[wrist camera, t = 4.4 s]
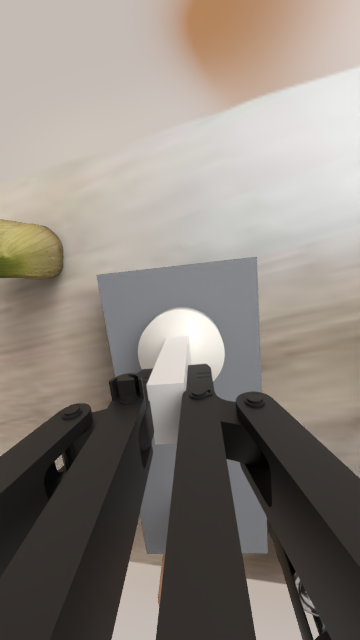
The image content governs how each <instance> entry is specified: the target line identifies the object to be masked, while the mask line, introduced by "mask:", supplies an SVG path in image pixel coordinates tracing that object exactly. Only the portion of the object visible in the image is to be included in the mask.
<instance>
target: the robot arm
mask: <svg viewBox="0 0 360 640" xmlns="http://www.w3.org/2000/svg"><path fill="white" fill-rule="evenodd" d="M109 385H110V390H111V396H112V402H111V403H110V405H109V406H108V408H107V409H105V410H101V411H97V412H93V413H92V411H91V407H90V406H89V405H88V404H75V405H74V404H73V405H70V406H69V407H66V408H64V409H63V410H61V411H59V412H58V413H57V414H55V415H54V416H53V417H51V418H50V419H49V420H48V421H46V422H45V423H44V424H42V425H41V426H40V427H38V428H37V429H36V430H34V431H33V432H32V433H31V434H29V435H28V436H27V437H25V438H24V439H23V440H21V441H20V442H19V443H17V444H16V445H15V446H14V447H12V448H11V449H10V450H8V451H7V452H6V453H4V454H3V455H2V456H0V640H111V638H112V634H113V630H114V625H115V620H116V616H117V612H118V607H119V603H120V598H121V594H122V589H123V585H124V581H125V576H126V572H127V567H128V563H129V559H130V554H131V550H132V545H133V541H134V536H135V532H136V527H137V523H138V519H139V514H140V510H141V505H142V501H143V496H144V492H145V488H146V483H147V479H148V474H149V470H150V465H151V461H152V456H153V447H152V439H153V435H154V439H155V445H158V444H177V449H176V458H175V467H174V476H173V486H172V495H171V504H170V514H169V523H168V532H167V541H166V551H165V560H164V569H163V579H162V588H161V597H160V606H159V616H158V625H157V634H156V640H256V636H255V631H254V624H253V618H252V612H251V606H250V600H249V594H248V587H247V581H246V575H245V569H244V563H243V557H242V551H241V545H240V538H239V532H238V526H237V520H236V514H235V508H234V502H233V496H232V489H231V483H230V477H229V471H228V465H227V459H228V460H233V461H237V462H240V466H241V469H242V471H243V473H244V475H245V476H246V478H247V480H248V482H249V484H250V486H251V488H252V490H253V492H254V493H255V495H256V497H257V499H258V501H259V503H260V505H261V507H262V509H263V511H264V512H265V514H266V516H267V518H268V520H269V522H270V524H271V526H272V528H273V529H274V531H275V533H276V535H277V537H278V539H279V541H280V543H281V545H282V547H283V548H284V550H285V552H286V554H287V556H288V558H289V560H290V562H291V564H292V565H293V567H294V569H295V571H296V573H297V575H298V577H299V579H300V581H301V583H302V584H303V586H304V588H305V590H306V592H307V594H308V596H309V598H310V600H311V601H312V603H313V605H314V607H315V609H316V611H317V613H318V615H319V617H320V619H321V620H322V622H323V624H324V626H325V628H326V630H327V632H328V634H329V636H330V638H331V639H332V640H360V478H359V477H358V476H356V475H355V474H354V473H353V472H352V471H351V470H350V469H349V468H348V467H347V466H346V465H344V464H343V463H342V462H341V461H340V460H339V459H338V458H337V457H336V456H335V455H334V454H333V453H331V452H330V451H329V450H328V449H327V448H326V447H325V446H324V445H323V444H322V443H321V442H319V441H318V440H317V439H316V438H315V437H314V436H313V435H312V434H311V433H310V432H309V431H308V430H306V429H305V428H304V427H303V426H302V425H301V424H300V423H299V422H298V421H297V420H296V419H294V418H293V417H292V416H291V415H290V414H289V413H288V412H287V411H286V410H285V409H284V408H283V407H281V406H280V405H279V404H278V403H277V402H276V401H275V400H274V399H273V398H272V397H270V396H268V395H267V394H264V393H261V392H255V391H251V392H245V393H242V394H240V395H239V396H238V397H237V398H236V402H233V401H227V400H224V399H221V398H220V397H218V396H217V395H216V393H215V391H214V385H213V379H212V373H211V367H210V366H208V365H207V364H195V365H192V364H191V354H190V345H189V336H178V337H167V338H166V340H165V342H164V345H163V347H162V350H161V352H160V354H159V357H158V359H157V361H156V364H155V366H154V368H152V369H142V370H141V371H140V372H138V373H137V374H136V373H127V374H122V375H119V376H117V377H115V378H113V379H111V380H110V381H109ZM61 454H62V458H63V462H64V466H63V467H62V468H61V469H60V470H58V471H57V469H56V466H55V462H54V461H55V460H56V459H57V458H58V457H59V456H60V455H61Z"/></svg>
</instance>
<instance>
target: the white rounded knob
mask: <svg viewBox="0 0 360 640" xmlns="http://www.w3.org/2000/svg"><path fill="white" fill-rule="evenodd" d="M178 336H189V345H190V354H191V364H192V365H195V364H207V365H208V366H210V367H211V373H212V379H213V381H214V380H215V379H216V378H217V376H218V375H219V373H220V371H221V369H222V367H223V363H224V358H225V350H224V344H223V341H222V338H221V335H220V333H219V331H218V328H217V326H216V325H215V323H214V322H213V321H212V320H211V319H210V318H209V317H208V316H207V315H206V314H204V313H203V312H201V311H199V310H196V309H193V308H189V307H175V308H171V309H168V310H166V311H163V312H162V313H160V314H159V315H157V316H156V317H155V318H154V319H153V320H152V321H151V323H150V324H149V325H148V326H147V327H146V329H145V330H144V332H143V333H142V335H141V338H140V341H139V345H138V359H139V363H140V366H141V369H152V368H154V366H155V364H156V361H157V359H158V357H159V354H160V352H161V350H162V347H163V345H164V342H165V340H166V338H167V337H178Z"/></svg>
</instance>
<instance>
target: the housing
mask: <svg viewBox="0 0 360 640" xmlns="http://www.w3.org/2000/svg"><path fill="white" fill-rule="evenodd" d="M97 280H98V286H99V291H100V297H101V302H102V308H103V313H104V319H105V324H106V330H107V335H108V341H109V346H110V352H111V357H112V363H113V368H114V374H115V377H117V376H119V375H122V374H127V373H136V374H137V373H138V372H140V371H141V370H142V369H141V366H140V363H139V359H138V345H139V341H140V338H141V335H142V333H143V332H144V330H145V329H146V327H147V326H148V325H149V324H150V323H151V321H152V320H153V319H154V318H155V317H156V316H157V315H159V314H160V313H162V312H163V311H166V310H168V309H171V308H175V307H189V308H193V309H196V310H199V311H201V312H203V313H204V314H206V315H207V316H208V317H209V318H210V319H211V320H212V321H213V322H214V323H215V325H216V326H217V328H218V331H219V333H220V335H221V338H222V341H223V344H224V350H225V358H224V363H223V367H222V369H221V371H220V373H219V375H218V376H217V378H216V379H215V380H214V381H213V385H214V391H215V393H216V395H217V396H218V397H220V398H221V399H224V400H227V401H233V402H236V398H237V397H238V396H239V395H240V394H242V393H245V392H251V391H255V392H261V393H262V383H261V357H260V330H259V304H258V278H257V257H251V258H242V259H233V260H224V261H215V262H207V263H198V264H189V265H180V266H172V267H163V268H154V269H145V270H136V271H128V272H119V273H110V274H101V275H97ZM152 447H153V456H152V461H151V465H150V470H149V474H148V479H147V483H146V488H145V492H144V496H143V501H142V505H141V510H140V517H141V523H142V528H143V534H144V539H145V545H146V550H147V554H164V552H165V550H166V541H167V532H168V523H169V514H170V504H171V495H172V486H173V476H174V467H175V458H176V449H177V444H158V445H155V439H154V435H153V439H152ZM227 465H228V471H229V477H230V483H231V489H232V496H233V502H234V508H235V514H236V520H237V526H238V532H239V538H240V545H241V551H242V553H268V541H267V516H266V514H265V512H264V511H263V509H262V507H261V505H260V503H259V501H258V499H257V497H256V495H255V493H254V492H253V490H252V488H251V486H250V484H249V482H248V480H247V478H246V476H245V475H244V473H243V471H242V469H241V466H240V462H237V461H233V460H228V459H227Z"/></svg>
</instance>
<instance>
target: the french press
mask: <svg viewBox="0 0 360 640" xmlns="http://www.w3.org/2000/svg"><path fill="white" fill-rule="evenodd" d="M267 527H268V531H269V534H270V536H271V538H272V539H273V542H274V546H275V549H276V553H277V556H278V559H279V562H280V564H281V567H282V570H283V574H284V577H285V580H286V584H287V587H288V591H289V594H290V598H291V601H292V605H293V608H294V611H295V615H296V618H297V622H298V625H299V629H300V632H301V635H302V639H303V640H313V637H312V634H311V630H310V627H309V624H308V621H307V618H306V615H305V612H304V611H306V612H308V613H310V614H312V615H313V618H314V621H315V623H316V626H317V629H318V632H319V636H318V637H317V638H316V639H315V640H332V639H331V638H330V636H329V634H328V632H327V630H326V628H325V626H324V624H323V622H322V620H321V619H320V617H319V615H318V613H317V611H316V609H315V607H314V605H313V603H312V601H311V600H310V598H309V596H308V594H307V592H306V590H305V588H304V586H303V584H302V583H301V581H300V579H299V577H298V575H297V573H296V571H295V569H294V567H293V565H292V564H291V562H290V560H289V558H288V556H287V554H286V552H285V550H284V548H283V547H282V545H281V543H280V541H279V539H278V537H277V535H276V533H275V531H274V529H273V528H272V526H271V524H270V522H269V520H268V519H267Z"/></svg>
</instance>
